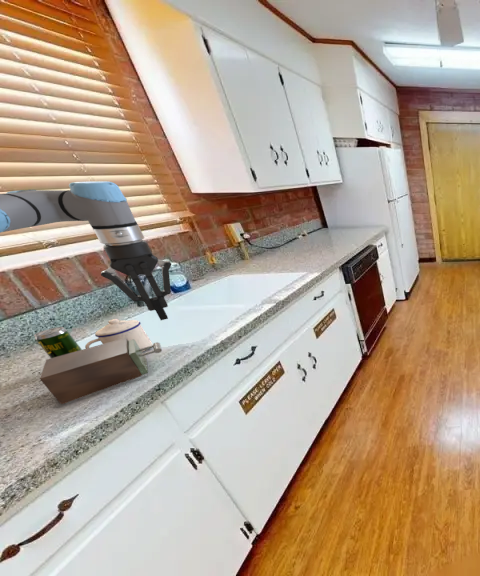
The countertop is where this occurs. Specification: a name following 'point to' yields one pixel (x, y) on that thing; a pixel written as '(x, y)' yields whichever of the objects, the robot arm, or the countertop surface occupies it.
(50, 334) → the green soda can
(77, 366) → the cabinet
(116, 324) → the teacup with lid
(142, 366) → the drawer
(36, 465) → the countertop surface
